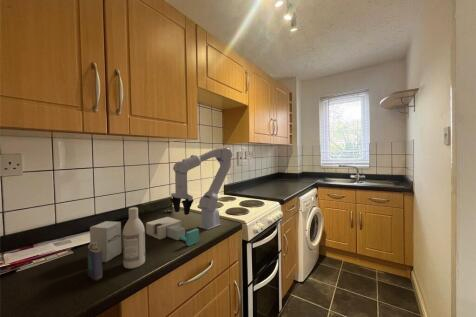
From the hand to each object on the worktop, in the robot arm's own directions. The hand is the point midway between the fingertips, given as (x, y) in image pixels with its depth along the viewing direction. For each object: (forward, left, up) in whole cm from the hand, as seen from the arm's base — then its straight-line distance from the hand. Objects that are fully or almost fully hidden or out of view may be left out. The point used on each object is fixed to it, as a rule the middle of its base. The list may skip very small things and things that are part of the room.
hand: (181, 213), depth 100 cm
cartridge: (+5, +5, -10) cm, 12 cm away
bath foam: (+28, +10, -10) cm, 31 cm away
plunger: (+9, -6, -8) cm, 14 cm away
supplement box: (+32, -4, -10) cm, 34 cm away
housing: (+5, -8, -10) cm, 14 cm away
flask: (+39, +6, -10) cm, 41 cm away
